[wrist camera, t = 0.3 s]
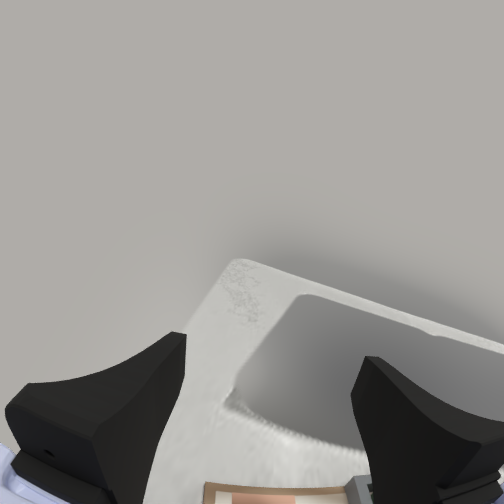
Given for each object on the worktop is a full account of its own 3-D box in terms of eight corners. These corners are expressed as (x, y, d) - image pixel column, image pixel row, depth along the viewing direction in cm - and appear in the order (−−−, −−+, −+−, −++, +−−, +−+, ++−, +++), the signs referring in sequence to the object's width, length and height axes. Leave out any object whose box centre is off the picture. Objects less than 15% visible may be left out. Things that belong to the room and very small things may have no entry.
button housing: (412, 524, 17) (425, 515, 17) (356, 538, 17) (368, 529, 16) (395, 480, 24) (406, 469, 23) (343, 487, 23) (353, 476, 23)
